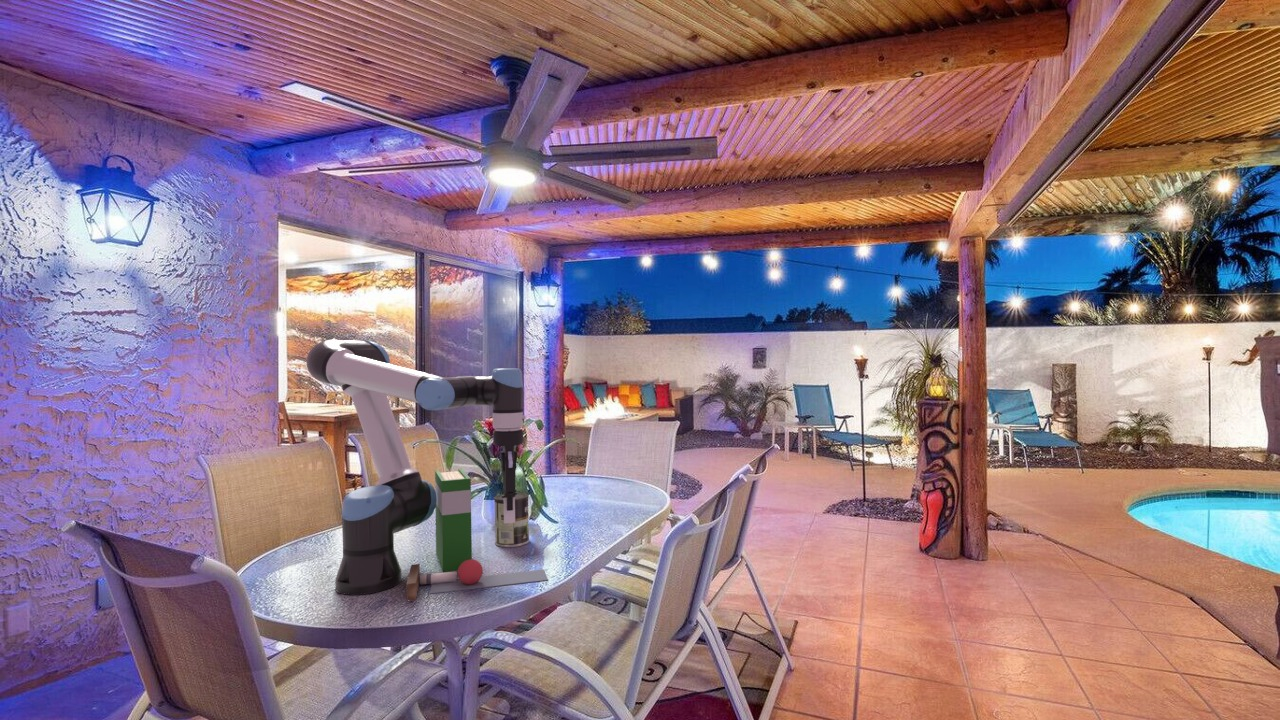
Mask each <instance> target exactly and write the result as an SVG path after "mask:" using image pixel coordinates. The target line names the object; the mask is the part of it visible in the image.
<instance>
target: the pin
mask: <svg viewBox="0 0 1280 720" xmlns="http://www.w3.org/2000/svg"><path fill="white" fill-rule="evenodd" d="M457 579H458V571H450V572H444V573H443V572H433V573H420V582H419V586H420V585H421V586H422V585H431V584H433V583H444V582H456V580H457Z"/></svg>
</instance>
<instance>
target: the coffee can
mask: <svg viewBox="0 0 1280 720" xmlns="http://www.w3.org/2000/svg"><path fill="white" fill-rule="evenodd" d="M502 495H504V494H503V493H502V494H497V495H495V496H494V497H493V501H494V531H495V532H494V535H495V536H494V538H495V539H494V541H495V542H494V544H495V546H498V547H501V548H515V547H521V546H525V545H527V544H528V543H529V542H530V532H529V531H530V530H529V529H530V528H529V520H530V519H529V496H530V495H529V494H527V493H523V492H517V495H515V523H505V524H504V498H502Z"/></svg>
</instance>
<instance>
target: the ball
mask: <svg viewBox="0 0 1280 720" xmlns="http://www.w3.org/2000/svg"><path fill="white" fill-rule="evenodd" d="M483 569H484V568H483V566H482V563H480V561H478V560H476V559H473V558H472V559H469V560H466V561H464V562H463V563H462V564H461V565H460V566H459V568H458V570H457V579H459V580H460V581H461V582H462V583H464V584H467V585H472V584H475V583H476V582H478V581H479V580H480V578H481V576H483V574H484V573H483V571H484V570H483Z"/></svg>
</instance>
